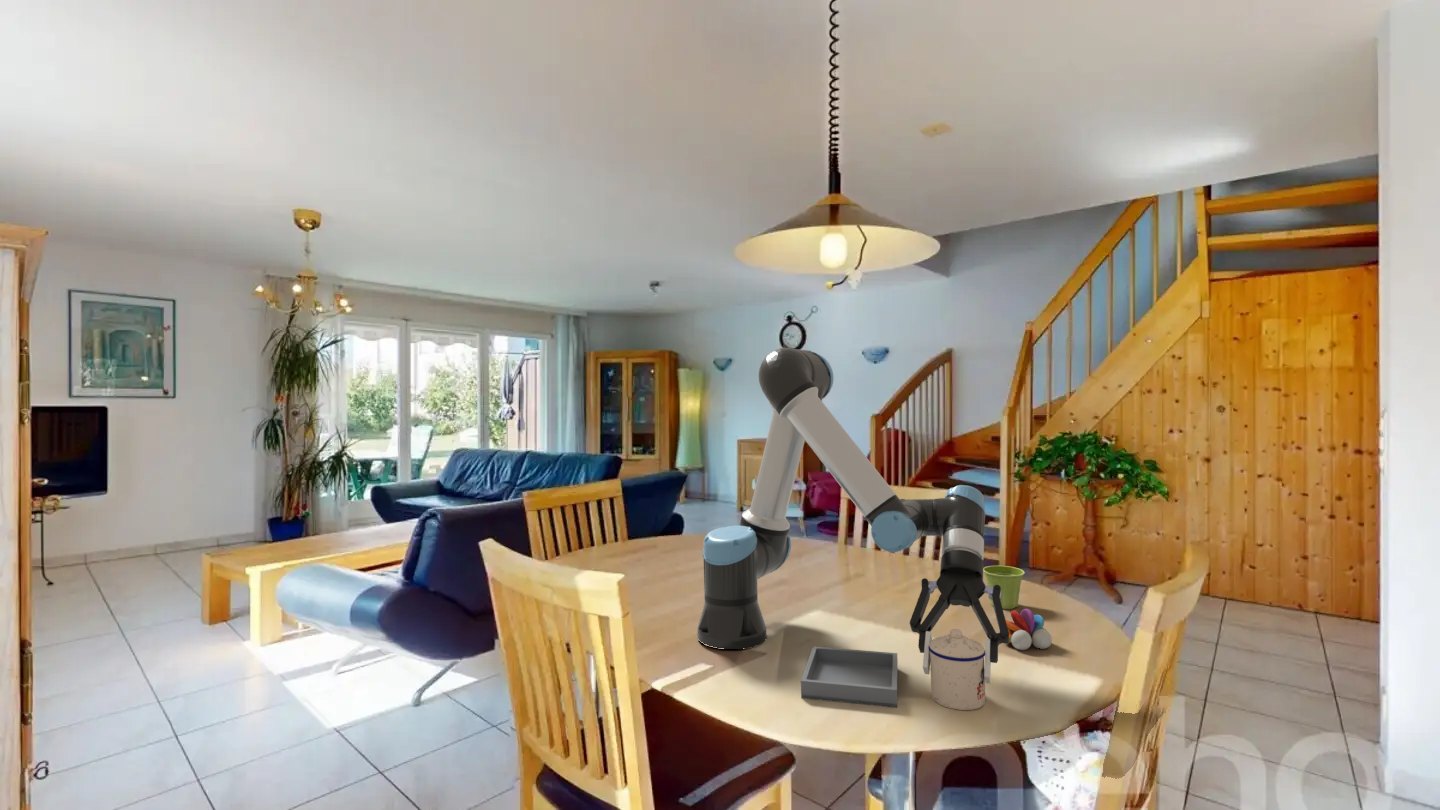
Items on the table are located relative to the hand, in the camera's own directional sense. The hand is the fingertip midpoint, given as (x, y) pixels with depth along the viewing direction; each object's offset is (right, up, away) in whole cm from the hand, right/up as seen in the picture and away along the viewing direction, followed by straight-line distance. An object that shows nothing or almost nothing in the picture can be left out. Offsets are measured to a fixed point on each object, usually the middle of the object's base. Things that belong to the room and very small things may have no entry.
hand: (956, 675), depth 107 cm
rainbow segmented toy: (+24, -5, +25) cm, 35 cm away
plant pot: (+30, -4, +50) cm, 58 cm away
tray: (-16, -5, +9) cm, 19 cm away
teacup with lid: (+1, -5, +3) cm, 6 cm away
